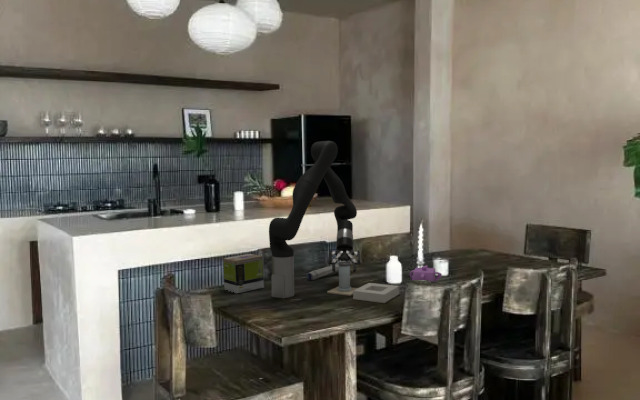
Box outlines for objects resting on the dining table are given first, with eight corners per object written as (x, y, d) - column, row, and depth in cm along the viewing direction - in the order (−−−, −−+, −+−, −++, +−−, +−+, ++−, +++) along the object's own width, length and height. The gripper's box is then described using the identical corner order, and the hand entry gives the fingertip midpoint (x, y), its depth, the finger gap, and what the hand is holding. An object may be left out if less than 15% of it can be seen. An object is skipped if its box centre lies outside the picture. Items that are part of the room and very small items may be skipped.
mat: (350, 295, 256) (350, 294, 256) (327, 292, 261) (327, 291, 261) (361, 290, 266) (361, 288, 266) (338, 287, 271) (338, 286, 271)
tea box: (251, 284, 278) (250, 252, 277) (264, 288, 271) (263, 255, 270) (223, 290, 269) (222, 257, 267) (236, 294, 261) (235, 260, 260)
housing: (384, 303, 244) (384, 294, 243) (353, 299, 251) (353, 290, 250) (399, 294, 258) (399, 286, 257) (369, 290, 264) (368, 282, 264)
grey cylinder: (305, 271, 287) (342, 257, 303) (306, 285, 288) (343, 270, 305) (312, 273, 283) (349, 259, 300) (314, 287, 285) (350, 271, 301)
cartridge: (347, 292, 260) (347, 264, 258) (335, 290, 262) (335, 263, 261) (353, 289, 265) (353, 262, 264) (341, 287, 268) (341, 260, 266)
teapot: (412, 283, 277) (412, 261, 276) (443, 285, 273) (443, 263, 272) (407, 293, 260) (407, 269, 259) (440, 294, 256) (440, 271, 255)
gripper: (328, 236, 270) (327, 266, 260) (360, 236, 269) (360, 266, 259) (329, 245, 276) (328, 276, 266) (360, 246, 275) (360, 276, 265)
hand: (344, 271), depth 262 cm, fingers open, 8 cm apart
